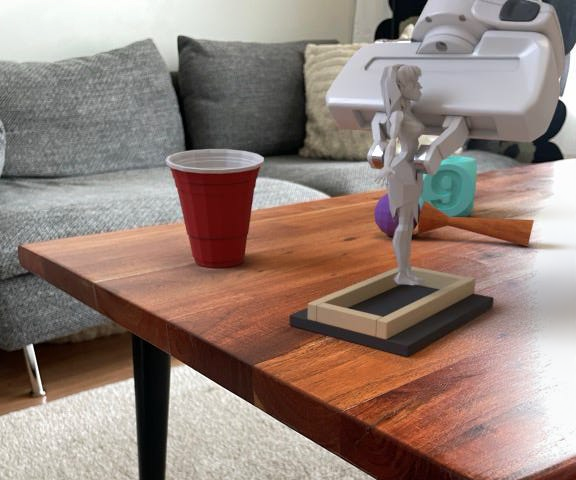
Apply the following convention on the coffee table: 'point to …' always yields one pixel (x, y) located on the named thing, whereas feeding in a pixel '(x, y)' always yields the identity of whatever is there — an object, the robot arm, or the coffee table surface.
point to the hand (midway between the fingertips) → (399, 167)
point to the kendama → (455, 223)
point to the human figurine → (402, 160)
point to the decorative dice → (451, 186)
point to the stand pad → (395, 310)
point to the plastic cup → (216, 201)
